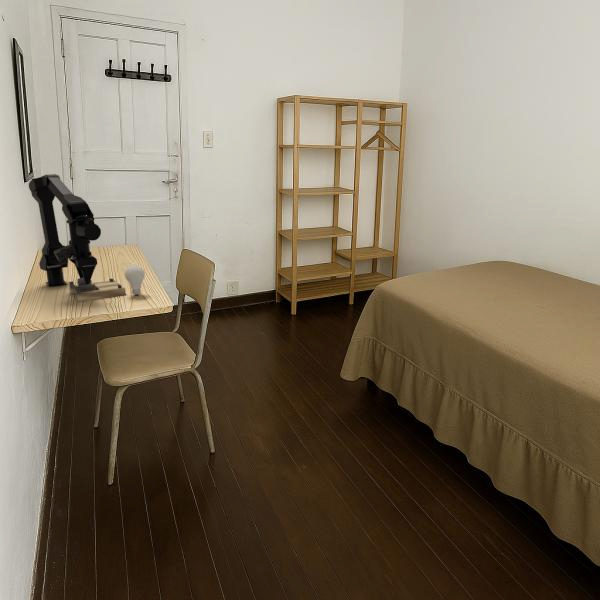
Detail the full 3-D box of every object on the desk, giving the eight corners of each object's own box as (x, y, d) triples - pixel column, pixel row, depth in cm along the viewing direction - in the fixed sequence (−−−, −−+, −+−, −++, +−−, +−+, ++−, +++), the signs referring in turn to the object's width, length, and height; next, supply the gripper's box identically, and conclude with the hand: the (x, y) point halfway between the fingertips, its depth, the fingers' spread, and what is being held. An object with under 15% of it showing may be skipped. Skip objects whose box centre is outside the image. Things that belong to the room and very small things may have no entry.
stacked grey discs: (77, 294, 188) (75, 278, 186) (91, 292, 190) (89, 276, 188) (80, 297, 184) (78, 281, 182) (94, 295, 186) (92, 279, 185)
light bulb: (123, 295, 187) (120, 264, 184) (140, 291, 191) (138, 262, 188) (132, 299, 182) (129, 267, 179) (150, 295, 187) (147, 264, 184)
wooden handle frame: (70, 292, 190) (68, 281, 189) (115, 286, 199) (114, 275, 198) (78, 301, 179) (76, 289, 178) (125, 294, 188) (124, 283, 186)
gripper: (49, 235, 184) (55, 279, 189) (58, 243, 169) (65, 290, 174) (82, 233, 190) (87, 275, 194) (95, 240, 175) (100, 285, 179)
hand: (84, 281), depth 185 cm, fingers open, 9 cm apart
